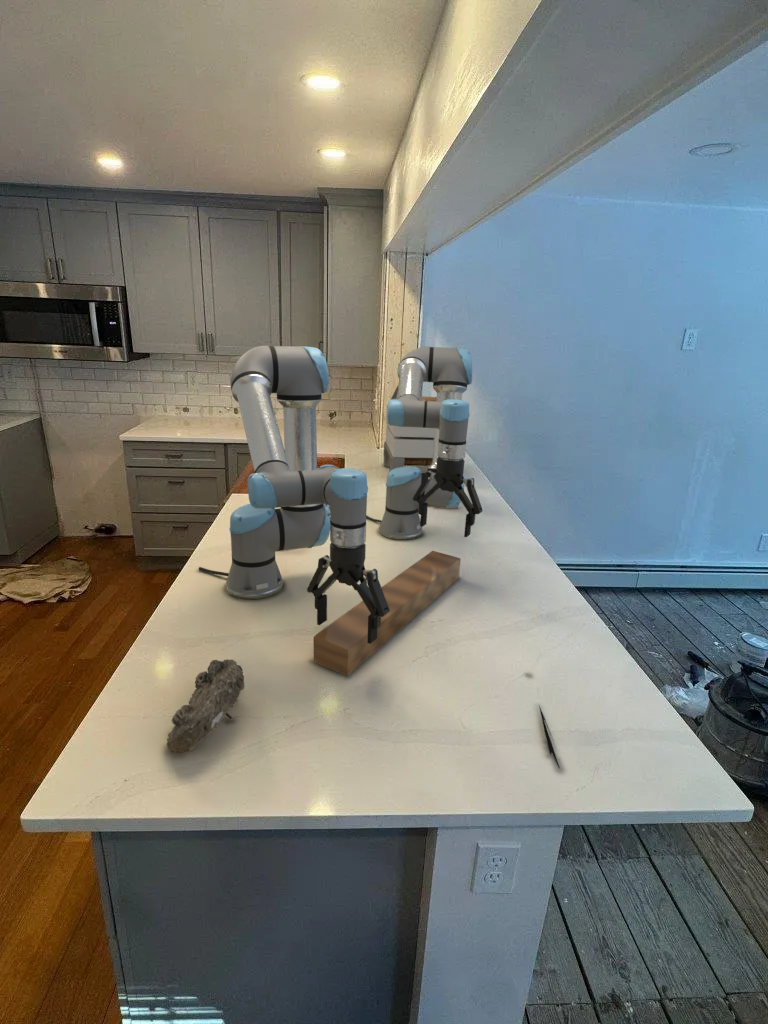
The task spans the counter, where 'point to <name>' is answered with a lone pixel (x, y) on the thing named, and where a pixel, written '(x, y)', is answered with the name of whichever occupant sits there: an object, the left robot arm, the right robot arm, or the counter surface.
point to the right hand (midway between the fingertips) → (444, 530)
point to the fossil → (206, 705)
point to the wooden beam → (405, 598)
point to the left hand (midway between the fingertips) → (346, 631)
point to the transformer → (408, 443)
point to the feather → (548, 737)
